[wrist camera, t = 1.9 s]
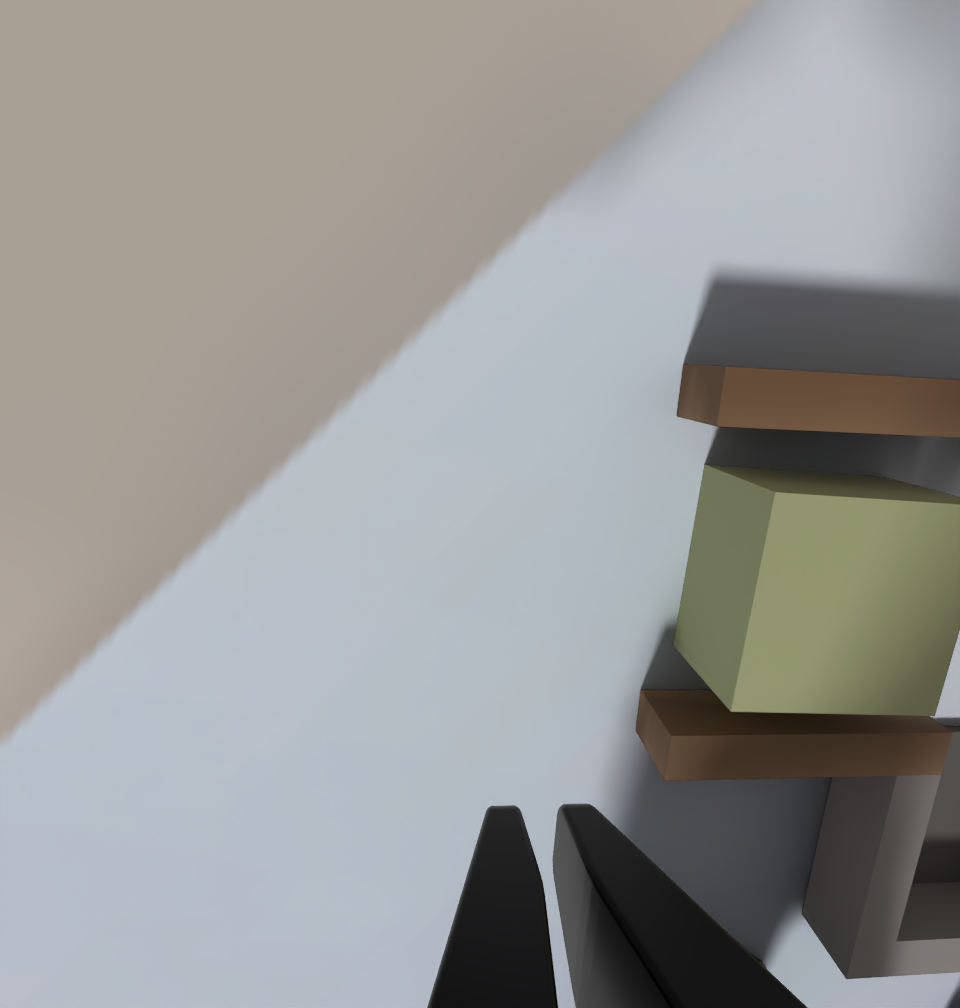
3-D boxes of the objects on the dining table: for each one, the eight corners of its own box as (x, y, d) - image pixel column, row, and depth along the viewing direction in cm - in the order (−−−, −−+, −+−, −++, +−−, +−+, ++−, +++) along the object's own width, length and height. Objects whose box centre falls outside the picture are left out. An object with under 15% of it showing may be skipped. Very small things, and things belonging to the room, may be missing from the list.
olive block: (838, 648, 21) (934, 715, 17) (670, 642, 20) (731, 711, 16) (880, 476, 19) (995, 506, 16) (701, 463, 19) (775, 492, 15)
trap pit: (991, 904, 24) (1055, 966, 22) (802, 913, 23) (846, 979, 21) (1046, 725, 22) (1123, 771, 20) (842, 727, 21) (897, 775, 19)
